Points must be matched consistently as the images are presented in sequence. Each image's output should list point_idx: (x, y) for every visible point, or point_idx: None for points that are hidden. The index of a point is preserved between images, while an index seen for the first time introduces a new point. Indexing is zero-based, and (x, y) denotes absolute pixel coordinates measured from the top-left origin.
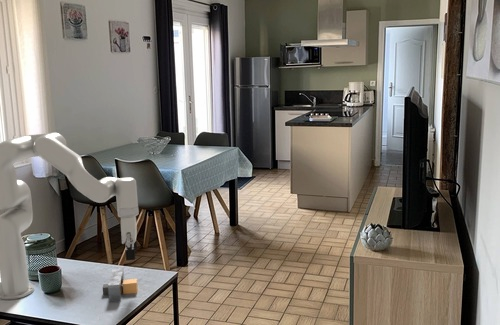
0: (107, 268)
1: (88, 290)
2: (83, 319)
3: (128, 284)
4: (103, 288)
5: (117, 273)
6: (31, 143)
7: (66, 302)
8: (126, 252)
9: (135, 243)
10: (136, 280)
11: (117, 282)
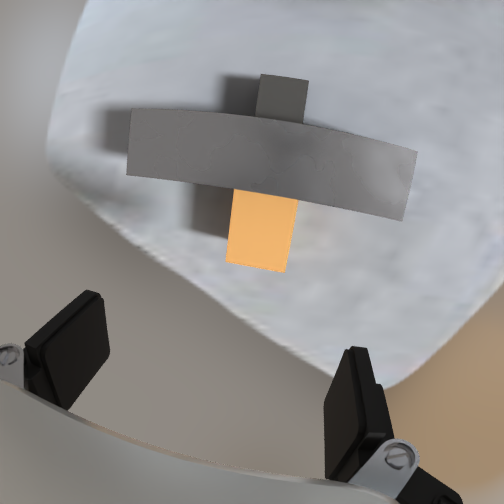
0: None
1: (356, 21)
2: (77, 39)
3: (231, 218)
4: (260, 79)
5: (312, 169)
6: None
7: None
8: (43, 334)
9: (325, 456)
10: (259, 266)
11: (156, 163)
